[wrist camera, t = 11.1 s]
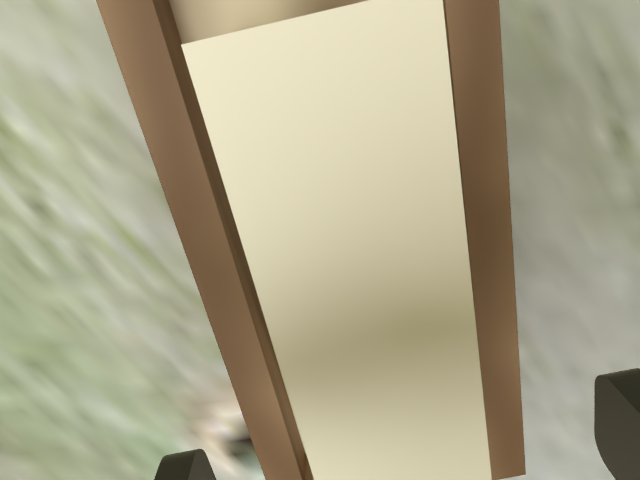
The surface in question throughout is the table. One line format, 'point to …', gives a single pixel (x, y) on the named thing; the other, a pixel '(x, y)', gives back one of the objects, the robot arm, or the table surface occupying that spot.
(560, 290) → the table surface
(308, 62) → the block
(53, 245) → the table surface
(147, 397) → the table surface
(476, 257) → the wooden serving tray
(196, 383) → the table surface
